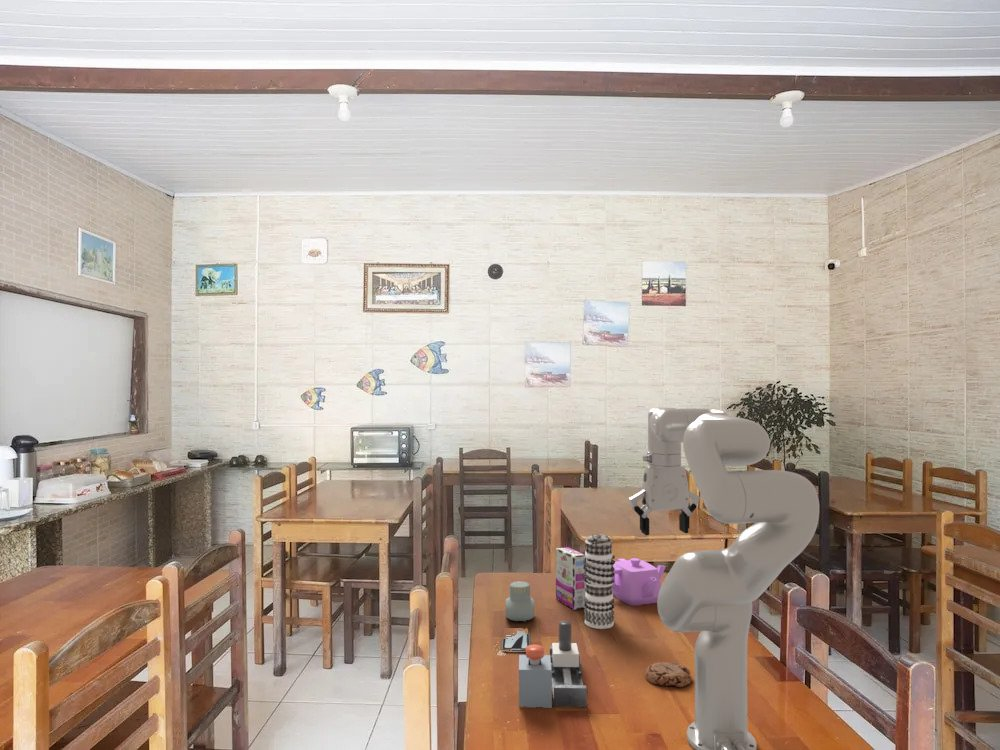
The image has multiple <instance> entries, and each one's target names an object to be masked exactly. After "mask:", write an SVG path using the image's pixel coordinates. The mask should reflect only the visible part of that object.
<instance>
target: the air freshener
mask: <svg viewBox="0 0 1000 750" xmlns="http://www.w3.org/2000/svg"><path fill="white" fill-rule="evenodd" d="M530 586H531V585H530V583H528V582H526V581H521V580H518V581H512V582H511V583H510V584H509V596H508V597H507V598H506V599H505V618H507V619H509V620H511V621H514V622H518V621H523V622H527V620H528V621H529V620H533V619H534V618H535V599H534V598H532V597H531V589H530V588H531V587H530Z"/></svg>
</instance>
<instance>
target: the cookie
mask: <svg viewBox="0 0 1000 750" xmlns="http://www.w3.org/2000/svg"><path fill="white" fill-rule="evenodd" d="M645 679H646V681H648V682H649V683H650V684H653V685H658V686H664V687H668V686H675V687H676V688H684V687H685V686H688V685H690V684H691V682H693V677H692V675H691V670H690V668H688V667H687V666H685V665H683V664H679V663H678V662H656V663H653V664H650V665H649V666H647V668H646V670H645Z"/></svg>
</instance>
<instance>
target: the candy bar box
mask: <svg viewBox="0 0 1000 750" xmlns="http://www.w3.org/2000/svg"><path fill="white" fill-rule="evenodd" d="M585 558H586V557H585V553H582V552H580V551H577V550H575V549H573V548H571V547H569V546H564V547H563V546H562V547H556V548H555V599H556V598H557V599H559V600H560V601H561V602H563V603H564V604H563V603H562V604H563V605H565V604H566V605H567V606H566V605H565V606H566V607H568V606H569V607H570V609H571V608H572V609H571V610H572V611H577V609H578V610H585V608H586V607H585V606H584V604H585V601H584V599H585V592H586V583H585V582H584V577H585V576H584V572H585V569H583V567H584V566H583V565H584V564H583V560H584V559H585ZM557 599H556V600H557ZM560 601H559V602H560ZM561 602H560V603H561ZM569 607H568V608H569ZM582 608H583V609H582Z"/></svg>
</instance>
